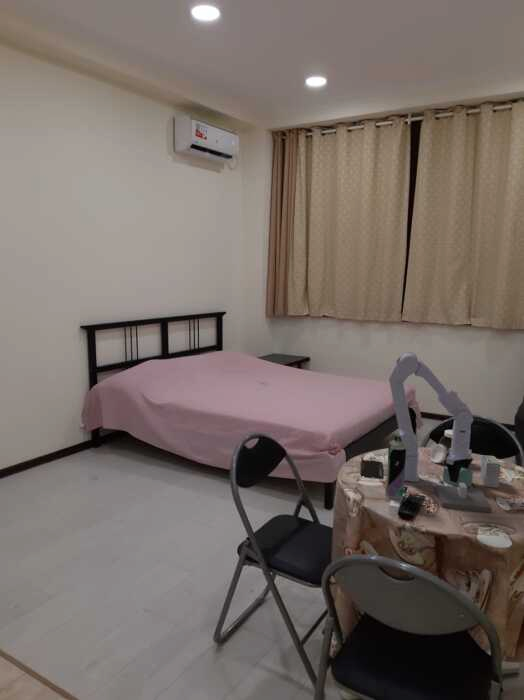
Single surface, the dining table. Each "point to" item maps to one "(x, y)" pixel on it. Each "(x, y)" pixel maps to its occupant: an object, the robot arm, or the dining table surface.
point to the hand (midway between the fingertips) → (457, 479)
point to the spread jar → (442, 448)
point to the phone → (371, 469)
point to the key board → (462, 498)
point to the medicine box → (490, 471)
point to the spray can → (395, 468)
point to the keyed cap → (459, 477)
